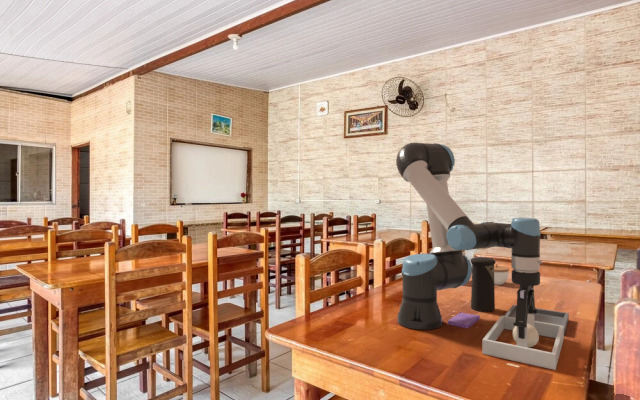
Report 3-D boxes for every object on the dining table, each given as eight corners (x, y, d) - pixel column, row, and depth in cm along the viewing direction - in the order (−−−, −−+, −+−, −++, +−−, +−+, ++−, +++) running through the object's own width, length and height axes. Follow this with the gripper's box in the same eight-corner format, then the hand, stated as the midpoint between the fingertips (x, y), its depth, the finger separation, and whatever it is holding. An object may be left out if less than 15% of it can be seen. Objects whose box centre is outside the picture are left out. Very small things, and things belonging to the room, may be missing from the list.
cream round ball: (529, 341, 123) (529, 319, 123) (543, 350, 116) (543, 327, 116) (507, 341, 123) (507, 319, 123) (520, 351, 116) (520, 328, 115)
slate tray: (564, 335, 127) (564, 327, 127) (503, 324, 138) (503, 317, 138) (568, 320, 142) (568, 313, 142) (512, 311, 152) (512, 304, 152)
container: (497, 312, 150) (497, 259, 150) (472, 311, 152) (472, 259, 152) (492, 306, 159) (492, 255, 158) (468, 305, 161) (468, 255, 160)
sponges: (447, 325, 139) (447, 320, 138) (460, 316, 148) (460, 311, 148) (468, 330, 134) (468, 324, 134) (480, 320, 144) (480, 315, 144)
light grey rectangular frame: (555, 370, 104) (555, 354, 103) (482, 353, 114) (482, 339, 114) (563, 338, 125) (563, 325, 125) (501, 327, 135) (501, 315, 135)
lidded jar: (479, 282, 199) (479, 263, 198) (495, 279, 203) (495, 261, 203) (497, 287, 189) (497, 267, 188) (513, 284, 193) (513, 265, 193)
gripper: (534, 279, 106) (534, 359, 107) (545, 264, 127) (545, 331, 127) (503, 276, 111) (503, 352, 111) (518, 262, 131) (519, 327, 131)
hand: (525, 341), depth 119 cm, fingers open, 13 cm apart
